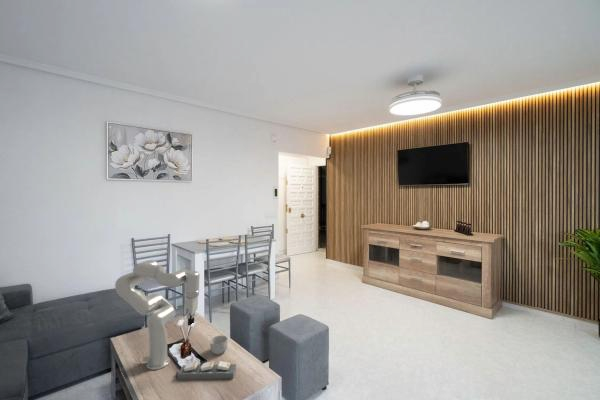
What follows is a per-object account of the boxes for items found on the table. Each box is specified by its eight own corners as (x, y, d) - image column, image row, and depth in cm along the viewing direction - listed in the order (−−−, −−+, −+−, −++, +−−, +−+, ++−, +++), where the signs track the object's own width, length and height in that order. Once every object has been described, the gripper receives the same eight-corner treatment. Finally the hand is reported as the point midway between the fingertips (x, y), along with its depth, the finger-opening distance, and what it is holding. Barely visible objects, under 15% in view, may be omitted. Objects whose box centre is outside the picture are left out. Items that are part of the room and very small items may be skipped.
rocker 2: (201, 371, 156) (200, 368, 156) (203, 366, 161) (202, 363, 161) (211, 368, 157) (211, 365, 157) (214, 363, 161) (213, 360, 161)
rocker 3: (217, 368, 157) (218, 365, 157) (219, 363, 161) (220, 360, 161) (228, 370, 157) (228, 367, 157) (229, 365, 161) (230, 362, 161)
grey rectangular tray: (173, 379, 154) (173, 372, 154) (179, 370, 162) (179, 364, 162) (233, 378, 155) (233, 371, 155) (236, 369, 163) (236, 362, 163)
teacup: (222, 357, 175) (222, 344, 175) (206, 355, 177) (206, 342, 177) (232, 345, 189) (232, 333, 188) (217, 343, 191) (217, 332, 191)
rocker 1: (184, 371, 156) (183, 368, 156) (187, 366, 161) (186, 363, 160) (195, 368, 156) (194, 365, 156) (198, 363, 161) (197, 360, 161)
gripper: (190, 288, 170) (189, 318, 171) (180, 298, 155) (179, 331, 156) (202, 289, 170) (201, 319, 171) (193, 298, 155) (192, 331, 156)
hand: (190, 324), depth 163 cm, fingers closed
